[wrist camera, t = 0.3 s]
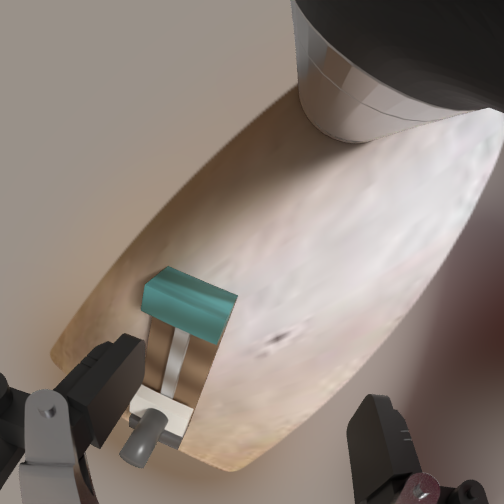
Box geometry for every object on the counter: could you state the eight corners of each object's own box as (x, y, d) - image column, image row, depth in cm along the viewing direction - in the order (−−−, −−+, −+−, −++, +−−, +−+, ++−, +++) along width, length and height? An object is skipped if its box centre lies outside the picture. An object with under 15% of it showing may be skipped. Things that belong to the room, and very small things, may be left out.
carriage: (137, 382, 32) (100, 434, 23) (193, 409, 32) (165, 469, 22) (135, 402, 34) (102, 451, 24) (186, 427, 33) (161, 481, 24)
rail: (167, 265, 29) (145, 284, 25) (238, 295, 29) (225, 320, 24) (142, 405, 38) (128, 426, 33) (188, 426, 38) (177, 449, 33)
